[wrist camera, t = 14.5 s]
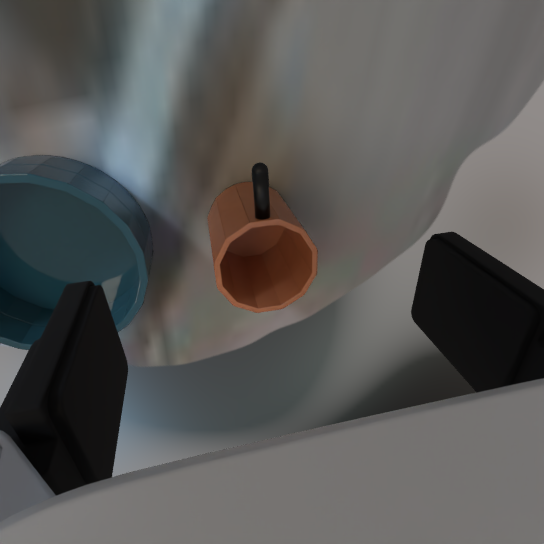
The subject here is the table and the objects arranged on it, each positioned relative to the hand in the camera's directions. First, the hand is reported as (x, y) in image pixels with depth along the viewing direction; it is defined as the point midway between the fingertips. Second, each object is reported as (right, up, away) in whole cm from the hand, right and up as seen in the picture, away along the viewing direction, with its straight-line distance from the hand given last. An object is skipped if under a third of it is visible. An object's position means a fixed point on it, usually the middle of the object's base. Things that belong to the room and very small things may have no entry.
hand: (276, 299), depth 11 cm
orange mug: (-2, +7, +21) cm, 23 cm away
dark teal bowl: (-18, +3, +20) cm, 27 cm away
